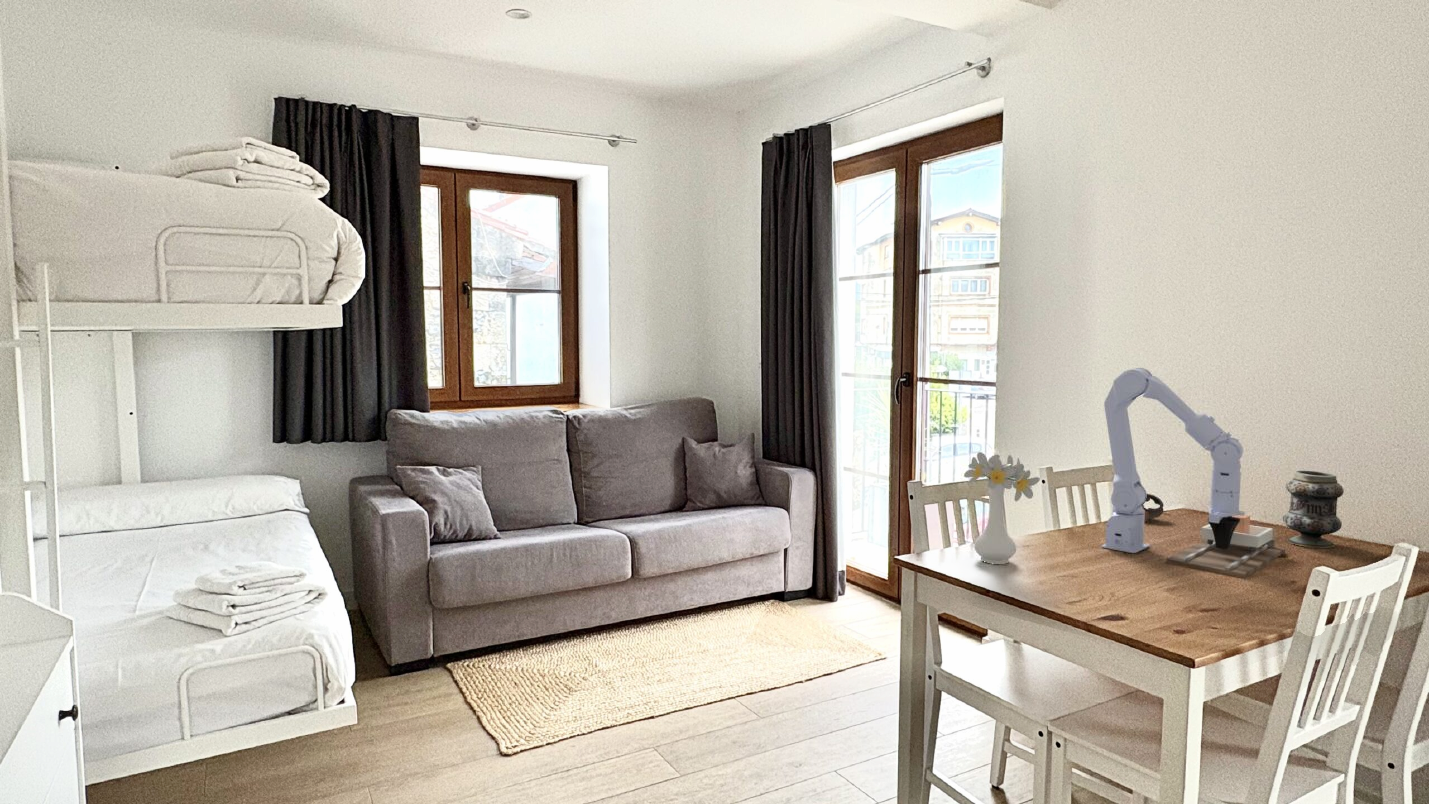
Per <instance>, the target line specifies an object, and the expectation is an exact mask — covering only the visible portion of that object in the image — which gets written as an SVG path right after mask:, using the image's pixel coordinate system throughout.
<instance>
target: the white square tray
mask: <svg viewBox="0 0 1429 804" xmlns="http://www.w3.org/2000/svg"><path fill="white" fill-rule="evenodd" d="M1273 531H1274V528H1271V527H1264V526H1258V525H1257V526H1256V525H1253V524H1250V530H1249V534H1244V533H1237V532H1233V535H1232V538H1231V542H1230V543H1233V544H1239V545H1245V546H1250V552H1255V550H1256V547H1257V548H1258V547H1260V546H1265V544H1266V543H1267V542H1269V541H1270V540H1272V539H1273V533H1274V532H1273ZM1200 533H1201V535H1200V538H1201V539H1203V540H1205V539H1208V540H1207V544H1209V545H1212V544H1213V540H1215V538H1214V534H1213V531H1212V528H1211V526H1210V524H1209V523H1208V524H1206V525H1204V526H1202V527H1201V532H1200Z"/></svg>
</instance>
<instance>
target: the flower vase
mask: <svg viewBox="0 0 1429 804" xmlns="http://www.w3.org/2000/svg"><path fill="white" fill-rule="evenodd" d="M968 468H969V469H968V470H966V471H965V472H964V473H963V477H964V478H966V479H967V478H968V479H969V478H970V479H969V481H968V482H967V483H968V484H967V486H968V487H970V486H972V485H973V484H974V482H976V481H977V480H978V479H980V478H984V477H986V478H988V479H987V480H986V484H987V487H988V493H989V506H988V507H989V510H988V519H987V524H986V526H985V529H984V531H983V532H982V533H981V534H980V535H978V537H977V538H976V539H975V542H974V547H973V548H974V551H975V553H977V555H978V556H980V560H981V562H983V561H985V562H987V563H986V564H988V563H993V564H992V565H994V564H1003V565H1007V564H1008V563H1009V562H1010V559H1011V558H1012V557H1014V555H1015V554H1016V553H1017V545H1016V542H1015V541H1014V540H1013V538H1012V537H1011V536H1010V535H1009V534H1008V532H1007V529H1006V526H1005V521H1004V495H1005V489H1007V490H1010V489H1012V488H1013V489H1015V494H1014V498H1013V499H1014V501H1015V502H1018V501H1019V500H1020V499H1021V497H1022V495H1024V496H1025V497H1026V498H1027V499H1032V498H1033V497H1034V492H1033V490H1032V486H1035V485H1037V484H1038V483H1039V482H1040V481H1041V478H1040V477H1038V476H1035V477H1030V476H1031V470H1025V466H1024V464H1023V463H1021V462H1020V458H1019V457H1017V459H1016V463H1015V464H1014V459H1013V456H1012V455H1011V454H1009V455H1008V456H1007V459H1006V463H1003V462H1002V460H1001V458H1000V455H999V454H994V455H992V456H991V457H989V458H987V456H986V455H985V454H984V453H983V452H980V451H979V452H978V453H976V457H975V456H973V457H972V458H971V463H970V464H968ZM985 562H984V563H985ZM1006 563H1007V564H1006Z"/></svg>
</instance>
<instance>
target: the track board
mask: <svg viewBox="0 0 1429 804" xmlns="http://www.w3.org/2000/svg"><path fill="white" fill-rule="evenodd" d="M1207 540H1208V539H1203V540H1201V541H1199V542H1197V543H1195V544H1194V545H1191V546H1190V547H1188V548H1185V549H1184V550H1181V551H1179V552H1177V553H1175V554H1173V555H1172V556H1169V557H1167V558H1166V560H1165V563H1166V564H1169V565H1174V566H1179V567H1185V568H1189V569H1194V570H1201V571H1205V572H1211V573H1216V574H1221V575H1226V576H1231V577H1237V578H1240V579H1241V578H1242V579H1246V578H1248V577H1249V576H1250V575H1253V573H1255V572H1257V571H1258V570H1261V568H1263V567H1264V566H1266V565H1268V564H1269V563H1271V562H1272V561H1275V560H1276V559H1277V558H1279V557H1280V556H1282V555H1283V554H1285V552H1286V548H1284V547H1278V546H1276V539H1275V538H1272V540H1270V541H1269V542H1267V543H1266V544H1265V546H1260V547H1258V548H1257V547H1256V550H1255V552H1250V546H1245V545H1239V544H1233V543H1230V545H1229V547H1228V549H1226V550H1225V549H1219V548H1217V547H1216V544H1215V540H1213V544H1212V545H1209V544H1207ZM1281 554H1282V555H1281ZM1278 556H1279V557H1278Z"/></svg>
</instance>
